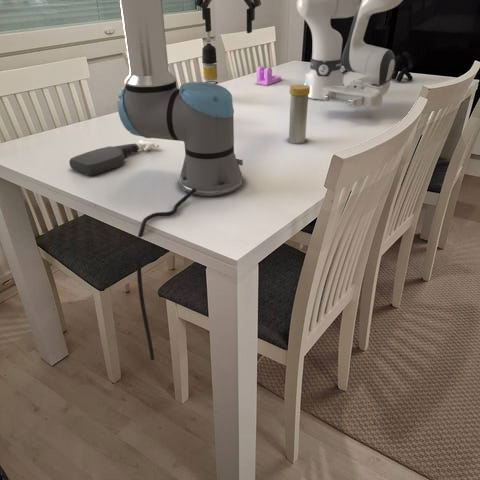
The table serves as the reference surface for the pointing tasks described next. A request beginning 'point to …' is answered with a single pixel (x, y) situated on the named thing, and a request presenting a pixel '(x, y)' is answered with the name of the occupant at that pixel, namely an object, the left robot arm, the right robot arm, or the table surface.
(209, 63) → the black and yellow bottle
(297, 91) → the lid
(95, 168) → the spray bottle
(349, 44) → the right robot arm
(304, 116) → the jar
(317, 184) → the table surface
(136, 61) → the left robot arm
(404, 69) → the squiggle
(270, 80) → the bracket
